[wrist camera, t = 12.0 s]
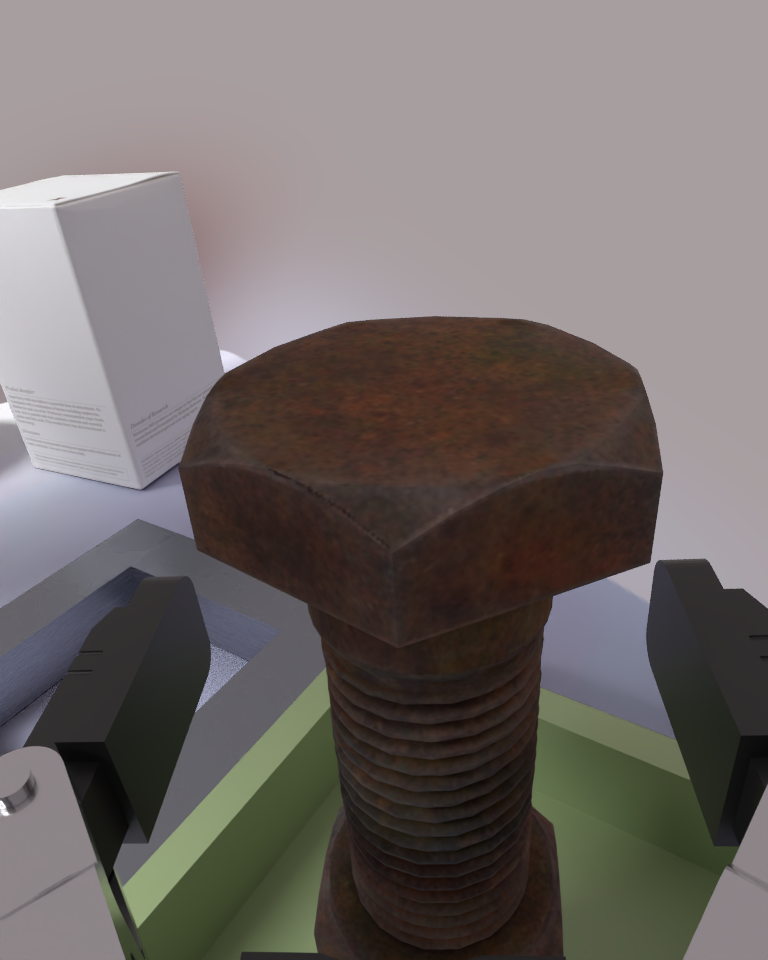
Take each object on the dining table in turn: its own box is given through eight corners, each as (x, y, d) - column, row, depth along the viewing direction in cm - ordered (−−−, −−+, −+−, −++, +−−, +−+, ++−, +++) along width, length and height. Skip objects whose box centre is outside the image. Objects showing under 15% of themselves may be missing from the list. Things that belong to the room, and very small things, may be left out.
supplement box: (241, 422, 46) (187, 167, 38) (142, 494, 39) (52, 203, 31) (134, 405, 49) (65, 171, 42) (28, 468, 43) (-78, 203, 35)
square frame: (-177, 800, 24) (-216, 749, 22) (152, 563, 33) (138, 518, 32) (65, 1044, 17) (28, 992, 16) (387, 661, 27) (381, 609, 25)
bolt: (501, 857, 19) (519, 289, 11) (627, 1071, 15) (785, 402, 7) (288, 955, 17) (143, 359, 10) (364, 1227, 13) (215, 562, 6)
